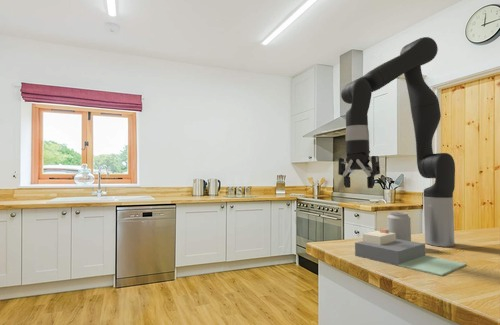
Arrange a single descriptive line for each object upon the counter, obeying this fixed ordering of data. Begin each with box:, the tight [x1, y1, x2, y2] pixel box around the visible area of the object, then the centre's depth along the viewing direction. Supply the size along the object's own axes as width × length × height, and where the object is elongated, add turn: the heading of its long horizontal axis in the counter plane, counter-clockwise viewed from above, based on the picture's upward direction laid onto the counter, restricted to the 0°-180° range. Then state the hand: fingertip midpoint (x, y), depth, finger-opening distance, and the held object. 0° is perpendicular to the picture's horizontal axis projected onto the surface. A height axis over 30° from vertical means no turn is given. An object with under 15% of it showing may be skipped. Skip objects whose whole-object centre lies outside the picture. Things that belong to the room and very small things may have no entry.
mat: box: [397, 254, 467, 277], centre depth 86 cm, size 16×11×1 cm
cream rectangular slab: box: [362, 228, 396, 245], centre depth 99 cm, size 9×6×4 cm, turn 126°
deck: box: [354, 239, 426, 267], centre depth 96 cm, size 16×14×4 cm
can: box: [386, 211, 412, 241], centre depth 109 cm, size 8×8×12 cm
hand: (358, 187), depth 103 cm, fingers open, 8 cm apart
